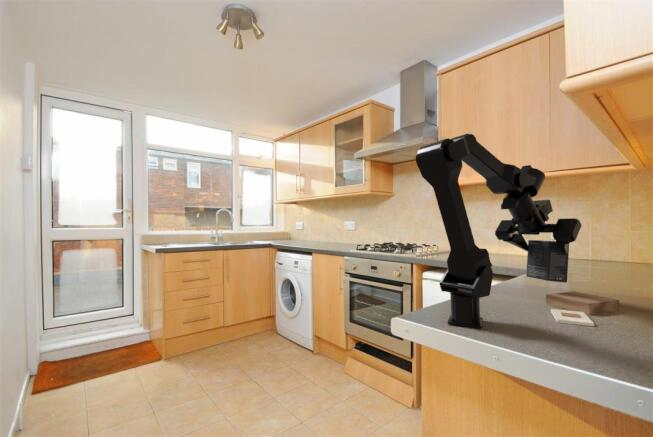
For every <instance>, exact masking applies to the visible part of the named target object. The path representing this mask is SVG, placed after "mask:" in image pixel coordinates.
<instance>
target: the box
mask: <svg viewBox="0 0 653 437" xmlns="http://www.w3.org/2000/svg"><path fill="white" fill-rule="evenodd" d="M555 242H556V240H541V239H540V240H538V239H535V240H534V239H529V240H528V241H527V244H528V251H527V257H526V259H527V260H526V275H525V276H526V277H528V278H532V279H537V280H541V281H547V282H553V283H564V284H566V283H567V282H568V271H569V269H568V268H569V253H570V251H569V250H570V243H569V244H568V252H567V254H565V253H564V252H563V251H562V250H561V249H560V248H559V247H558V245H557V244H556V243H555Z"/></svg>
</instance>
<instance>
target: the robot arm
mask: <svg viewBox="0 0 653 437" xmlns="http://www.w3.org/2000/svg"><path fill="white" fill-rule="evenodd" d="M415 162H416V163H415V164H416V165H417V167H418V170H419V172H420V175H421V177H422V178H423V180H425V181H426V182H427V183H428V185H430V186H431V187H432V189H433V192H434V195H435V200H436V202H437V206H438V210H439V213H440V217H441V220H442V223H443V227H444V230H445V234H446V238H447V241H448V245H449V248H450V249H449V250H450V251H449V253H448V257H447V260H446V264H447V269H446V271H445V272H444V274H443V276H442V277H441V279H440V281H439V286H440V290H441V292H444V293H445V292H446V293H450V316H449V318H448V319H447V325H453V326H461V327H467V328H469V327H470V328H476V329H482V328H483V324H484V318H483V317H481V304H480V303H481V302H480V299H481V298H485V297H486V298H487V297H490V294H491V289H492V283H493V278H494V277H493V276H494V272H493V269H492V267H493V264H492V262H491V259H490V253H489V250H487V248H482V247H481V248H479V246H477V245H476V242H475V238H474V235H473V231H472V227H471V224H470V221H469V218H468V213H467V210H466V209H467V208H466V205H465V203H464V199H463V195H462V192H461V187H460V183H459V178H460V174H461V173H462V172H461V171H462V168H463V163H465V164H466V165H467V166H469V168H471V170H474V171H475V172H476V173H478V174H479V175H480V176H481V177H483V178H484V180H485V185H486V187H487V188H488V189H489V190H490V191H491V192H492V194H494V195H505V196H504V197H503V198H502V203H501V204H500V209H501V210H508V212H509V213H510V215H511V217H512V218H511V219H505V220H504V219H503V220H501V221H500V222H499V224H498V226H497V227H496V229H495V231H494V236H495V237H496V239H497V240H499V241H502V242H505V243H509V244H511V245H513V246H515V247H518V248H519V249H521V250H523V251H524V252H525V251H526V252H528V241H526V240H525V237H524V236H523V235H525V236H526V235H528V236H529V235H530V236H534V235H535V236H536V235H537V236H538V235H540V233H541V234H543V233H547V234H549V233H550V234H552V237H553V239H554V240H553V241H556V242H555V243H556V244H557V245H558V247H559V248H560V249H561V250H562V251H563V252H564V253H565V254H567V252H568V244H569V245H570V244H571V243H573V242H575V241H576V240H577V238H578V235H579V232H580V231H581V228H582V223H581V221H580V220H579V219H578V218H574V217H573V218H557V221H556V223H546V222H548V221H549V219H550V218H549V216H548V215H549V214H551V213H552V212H554V211H553V206H552V202H551V200H550V199H541V200H540V199H539V200H533V198H534V197H536V196H537V195H538V194H539V191H540V190H541V187H542V186H543V184H544V181H545V180H546V175H545V172H543V171H541V170H540V169H538V168H534V167H532V165H531V164H528V165H522V166H521V168H520V167H518V166H517V165H514V164H510V163H509V164H508V163H505V162H502V161H501V160H500V159H498V158H497V156H496V155H494V154H493V153H491V152H490V151H489V150H488V149H487V148H486V147H484V146H483V145H482V144H481V143H480V142H478V141H477V137H476V136H475V135H474V134H472V133H464V134H461V135H458V136H455V137H452V138H444V139H440V140H438V141H434V142H431V143H427V144H424V145H422V146H420V147H419V148H418V150H417V152H416V155H415Z"/></svg>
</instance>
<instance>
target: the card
mask: <svg viewBox="0 0 653 437" xmlns="http://www.w3.org/2000/svg"><path fill="white" fill-rule="evenodd" d="M550 312H551V314H552V316H553V317H554V319H555V321H556V323H561V324H569V325H579V326H585V327H595V323H594V322H593V320H591V318H589V315H588V314H585V313H584V312H578V311H572V310H568V309H557V308H556V309H555V308H550Z"/></svg>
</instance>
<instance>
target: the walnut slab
mask: <svg viewBox="0 0 653 437" xmlns="http://www.w3.org/2000/svg"><path fill="white" fill-rule="evenodd" d="M545 304H546V305H547V306H548V305H549V306H553V307H557V308H561V309H563V310H568V311H578V312H584V313H585V314H586V315H587V316H589V315H590V316H592V315H597V314H604V313H611V312H619V311H620V299H617V298H611V297H606V296H601V295H600V296H599V295H595V294H591V293H585V292H579V291H576V290H575V291H573V290H572V291H565V292H555V293H547V294H545Z"/></svg>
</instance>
